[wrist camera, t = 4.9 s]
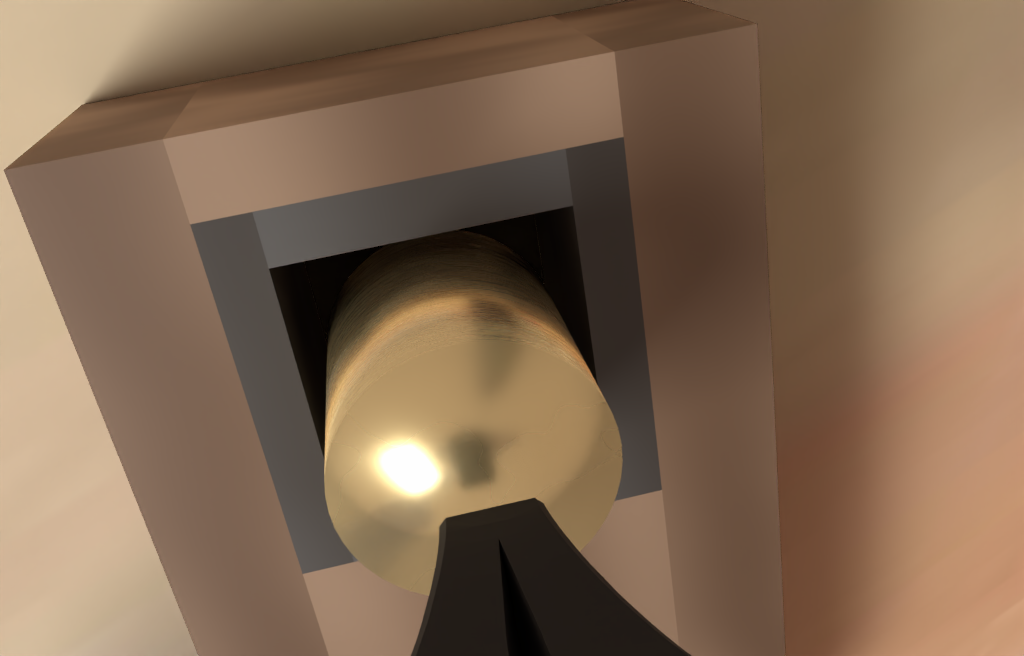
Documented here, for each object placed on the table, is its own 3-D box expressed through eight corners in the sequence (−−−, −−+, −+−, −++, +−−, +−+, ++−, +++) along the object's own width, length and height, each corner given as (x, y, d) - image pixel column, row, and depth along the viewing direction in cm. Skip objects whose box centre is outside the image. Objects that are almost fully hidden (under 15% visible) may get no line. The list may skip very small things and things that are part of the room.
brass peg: (356, 459, 19) (362, 626, 15) (301, 257, 17) (289, 381, 13) (569, 411, 20) (636, 561, 15) (538, 208, 18) (605, 312, 13)
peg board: (340, 836, 29) (341, 1011, 24) (82, 104, 19) (3, 170, 15) (725, 736, 30) (795, 887, 25) (663, -6, 20) (757, 23, 16)
